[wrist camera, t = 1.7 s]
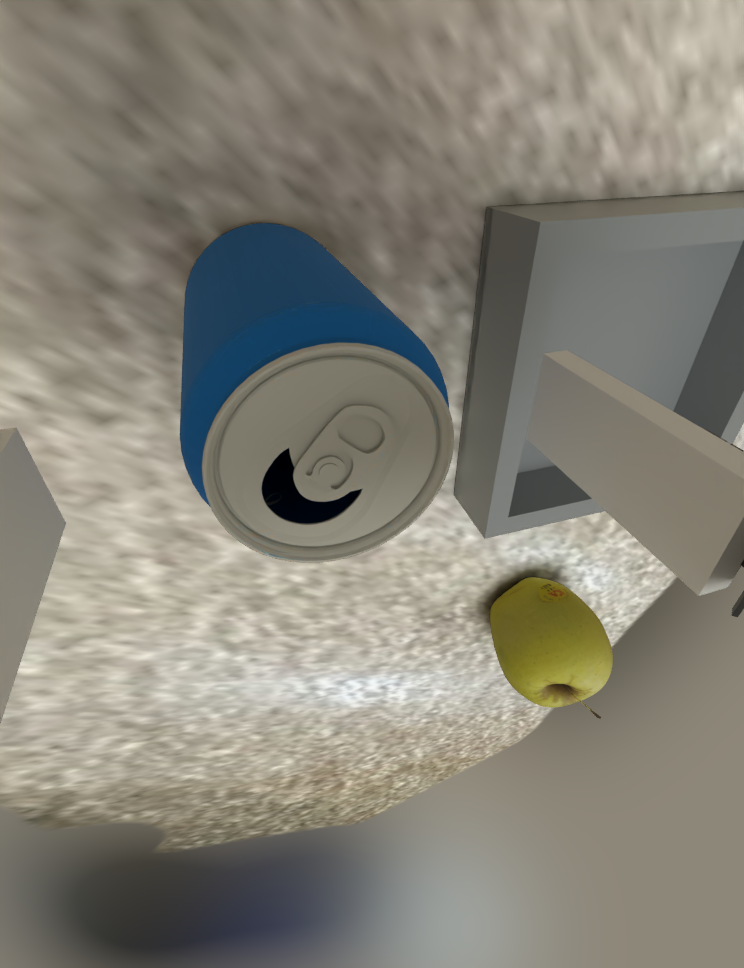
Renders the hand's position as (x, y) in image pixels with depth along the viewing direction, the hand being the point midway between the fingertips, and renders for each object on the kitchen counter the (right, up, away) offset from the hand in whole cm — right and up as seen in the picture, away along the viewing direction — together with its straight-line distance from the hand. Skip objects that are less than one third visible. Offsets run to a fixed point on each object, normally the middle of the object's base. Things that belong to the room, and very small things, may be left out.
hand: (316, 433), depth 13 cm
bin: (+14, +5, +14) cm, 20 cm away
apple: (+13, -10, +25) cm, 30 cm away
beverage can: (-3, +6, +7) cm, 10 cm away
